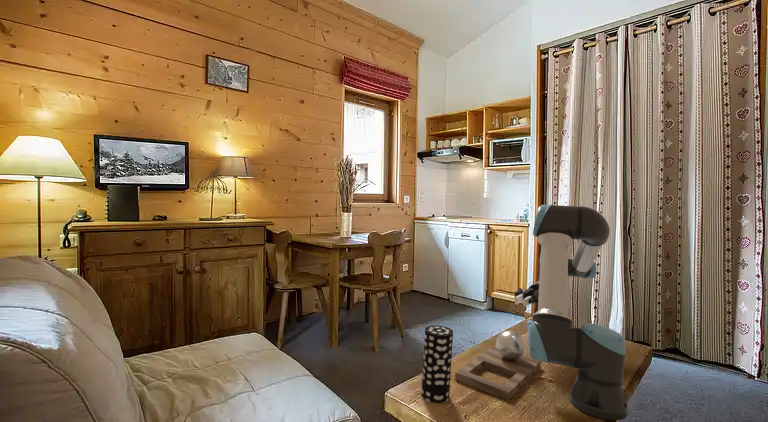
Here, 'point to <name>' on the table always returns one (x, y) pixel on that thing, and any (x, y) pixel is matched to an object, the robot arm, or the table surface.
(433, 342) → the white-spotted black cylinder
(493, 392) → the brown wooden frame
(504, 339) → the steel ball
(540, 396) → the table surface
